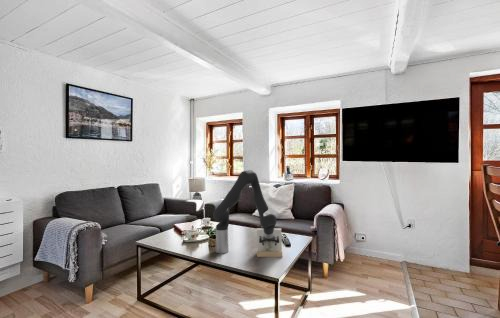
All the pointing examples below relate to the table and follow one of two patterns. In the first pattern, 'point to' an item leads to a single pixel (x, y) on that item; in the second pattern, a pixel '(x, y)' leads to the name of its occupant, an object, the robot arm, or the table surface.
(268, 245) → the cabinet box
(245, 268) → the table surface
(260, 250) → the wall board
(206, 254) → the table surface
